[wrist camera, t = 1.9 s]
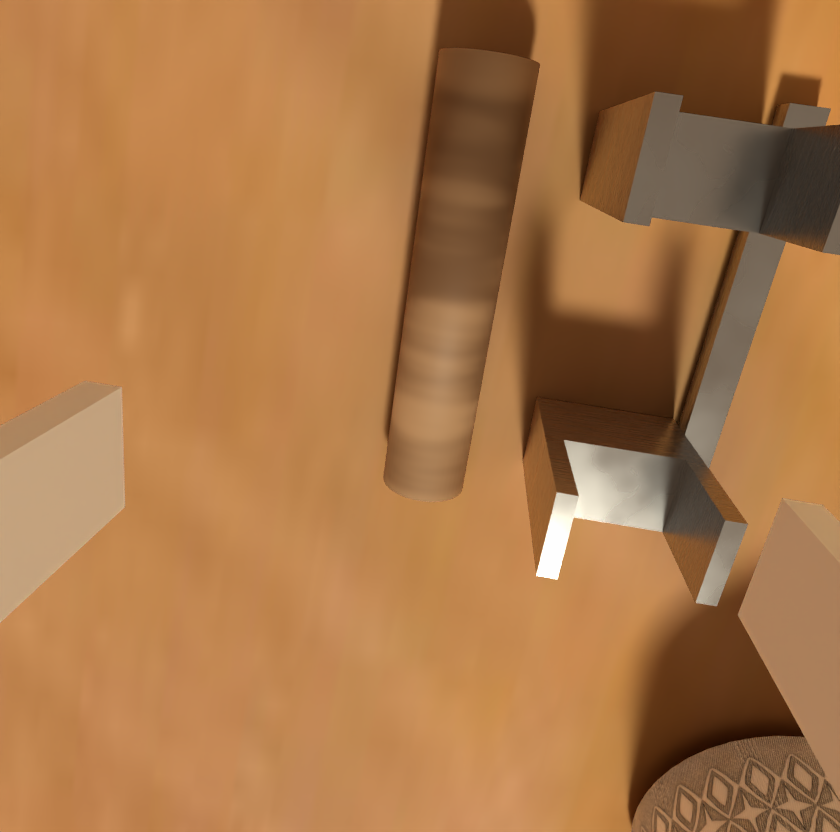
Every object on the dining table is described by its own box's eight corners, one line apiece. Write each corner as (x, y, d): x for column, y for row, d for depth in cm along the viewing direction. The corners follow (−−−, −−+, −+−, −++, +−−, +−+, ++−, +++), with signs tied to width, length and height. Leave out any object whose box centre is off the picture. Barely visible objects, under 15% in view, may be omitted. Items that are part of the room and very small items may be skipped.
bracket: (606, 80, 28) (667, 43, 18) (816, 110, 27) (986, 89, 18) (518, 481, 35) (529, 601, 25) (684, 509, 34) (757, 640, 25)
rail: (450, 59, 28) (428, 43, 25) (543, 70, 28) (534, 56, 24) (396, 456, 35) (372, 489, 32) (469, 474, 35) (453, 509, 31)
